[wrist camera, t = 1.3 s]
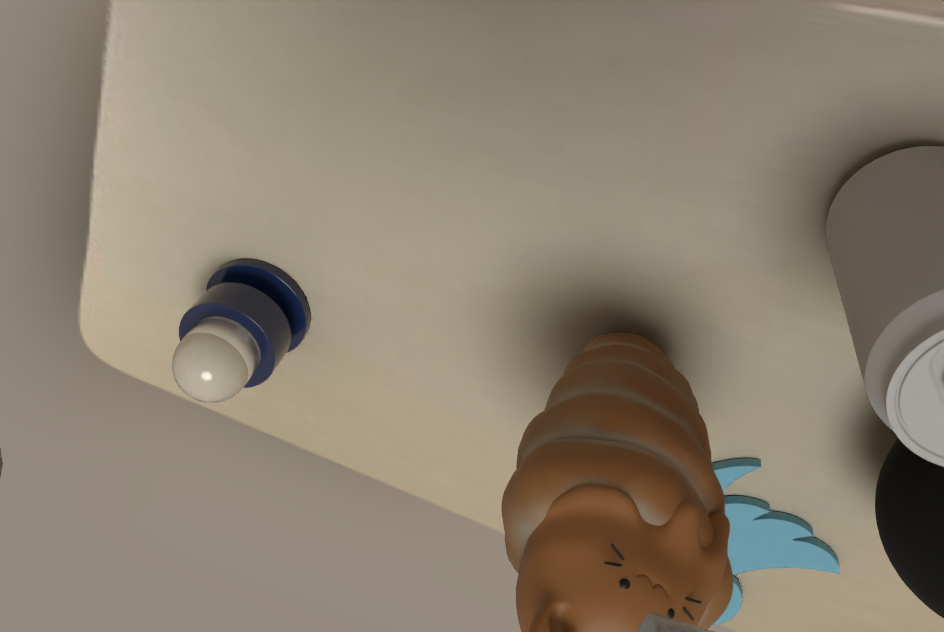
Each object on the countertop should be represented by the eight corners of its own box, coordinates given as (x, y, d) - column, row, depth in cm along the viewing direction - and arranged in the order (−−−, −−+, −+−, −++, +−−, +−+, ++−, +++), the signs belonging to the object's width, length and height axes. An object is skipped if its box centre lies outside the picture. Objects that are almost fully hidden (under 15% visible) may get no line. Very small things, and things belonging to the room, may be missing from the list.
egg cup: (202, 323, 45) (130, 404, 39) (219, 241, 41) (143, 316, 36) (297, 365, 45) (239, 452, 39) (321, 286, 41) (262, 369, 36)
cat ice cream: (759, 351, 38) (800, 718, 23) (648, 444, 42) (622, 802, 28) (607, 241, 36) (547, 557, 22) (508, 349, 41) (403, 671, 26)
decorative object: (747, 451, 40) (859, 574, 43) (746, 444, 41) (857, 566, 43) (559, 539, 47) (668, 642, 49) (561, 532, 47) (668, 634, 50)
